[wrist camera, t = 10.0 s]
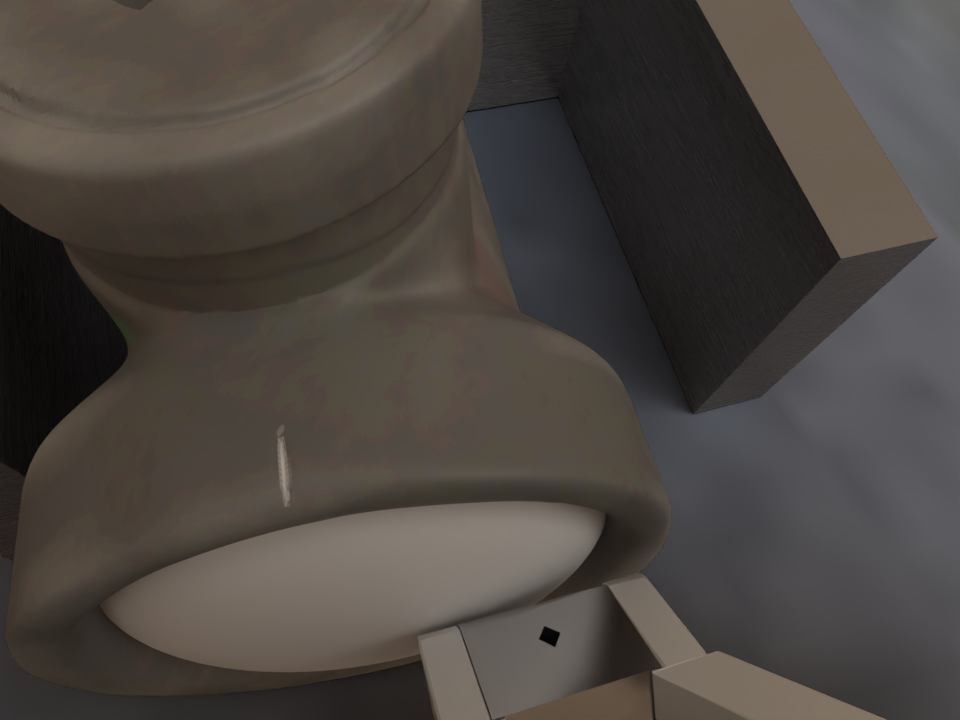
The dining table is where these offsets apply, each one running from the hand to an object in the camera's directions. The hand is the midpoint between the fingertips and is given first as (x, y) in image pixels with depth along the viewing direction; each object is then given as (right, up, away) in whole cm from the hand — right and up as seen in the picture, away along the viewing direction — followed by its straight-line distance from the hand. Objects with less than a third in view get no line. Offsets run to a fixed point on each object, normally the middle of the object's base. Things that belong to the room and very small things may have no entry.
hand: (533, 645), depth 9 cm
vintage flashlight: (-3, +3, +6) cm, 8 cm away
